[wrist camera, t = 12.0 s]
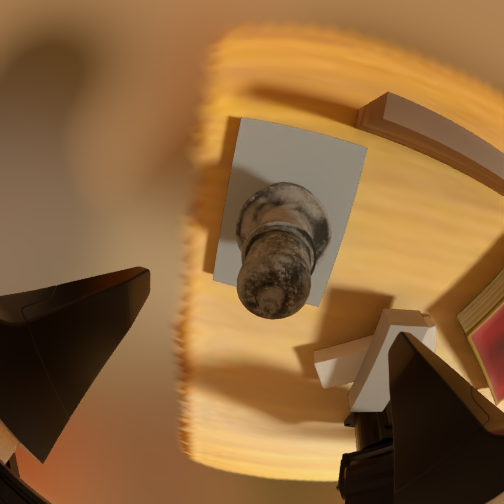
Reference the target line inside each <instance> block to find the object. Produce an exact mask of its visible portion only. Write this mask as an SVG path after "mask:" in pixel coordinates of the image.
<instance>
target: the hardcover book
mask: <svg viewBox="0 0 504 504" xmlns="http://www.w3.org/2000/svg"><path fill="white" fill-rule="evenodd" d="M456 317H457V318H458V320H459V322H460V324H461V326H462V328H463V330H464V331H465V336H466V338H467V340H468V342H469V344H470V346H471V348H472V350H473V352H474V354H475V356H476V358H477V361H478V363H479V365H480V367H481V369H482V372H483V374H484V376H485V379H486V381H487V383H488V386H489V388H490V391H491V393H492V396H493V399H494V401H495V404H496V406H497V405H498V404H499V403H500V402H501V401H503V400H504V268H503V269H502V270H501V272H500V273H499V274H498V275H497V276H496V277H495V278H494V279H493V280H492V281H491V282H490V283H489V284H488V286H487V287H486V288H485V289H484V290H483V291H482V292H481V293H480V294H479V295H478V296H477V297H476V298H475V299H474V300H472V301H471V302H470V303H469V304H468V305H467V306H466V307H465V308H464V309H463V310H462V311H461V312H460V313H458V314H457V315H456Z"/></svg>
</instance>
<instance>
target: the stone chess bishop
mask: <svg viewBox="0 0 504 504" xmlns="http://www.w3.org/2000/svg"><path fill="white" fill-rule="evenodd" d="M331 238H332V226H331V220H330V217H329V215H328V213H327V210H326V208H325V207H324V206H323V204H322V203H321V202H320V201H319V199H318V198H317V197H315V196H314V195H313V194H312V193H311V192H310V191H309V190H307V189H306V188H304V187H303V186H300V185H297V184H294V183H285V182H283V183H278V184H273V185H271V186H269V187H266V188H264V189H262V190H260V191H258V192H256V193H255V194H253V195H252V196H251V197H250V198H249V199H248V200H247V201H246V202H245V204H244V205H243V207H242V208H241V210H240V211H239V214H238V218H237V221H236V239H237V243H238V247H239V249H240V251H241V261H242V267H241V269H240V271H239V274H238V277H237V293H238V296H239V299H240V301H241V302H242V304H243V305H244V306H245V307H246V308H247V309H248V310H249V311H250V312H251V313H253V314H255V315H256V316H259V317H262V318H265V319H282V318H286V317H288V316H291V315H293V314H295V313H296V312H298V311H299V310H300V309H301V308H302V307H303V306H304V305H305V303H306V301H307V299H308V297H309V294H310V289H311V275H312V274H313V272H314V270H315V267H316V266H317V265H318V264H319V263H320V262H321V261H322V259H323V258H324V257H325V256H326V254H327V251H328V249H329V247H330V245H331Z"/></svg>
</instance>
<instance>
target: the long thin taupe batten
mask: <svg viewBox="0 0 504 504" xmlns="http://www.w3.org/2000/svg"><path fill="white" fill-rule="evenodd" d="M355 128H357V129H360V130H363V131H366V132H369V133H372V134H375V135H378V136H380V137H383V138H386V139H389V140H391V141H394V142H396V143H399V144H402V145H404V146H407V147H409V148H411V149H414V150H416V151H419V152H421V153H423V154H425V155H428V156H430V157H432V158H434V159H436V160H439V161H441V162H443V163H445V164H447V165H449V166H451V167H453V168H455V169H457V170H459V171H461V172H463V173H465V174H466V175H468V176H470V177H472V178H474V179H476V180H477V181H479V182H481V183H483V184H484V185H486V186H488V187H489V188H491V189H493V190H494V191H496V192H498V193H499V194H501V195H502V196H504V154H503V153H502V152H501V151H499V150H498V149H496V148H495V147H494V146H492V145H491V144H489V143H488V142H486V141H484V140H483V139H481V138H480V137H478V136H477V135H475V134H473V133H472V132H470V131H468V130H467V129H465V128H463V127H462V126H460V125H458V124H456V123H454V122H453V121H451V120H449V119H447V118H445V117H443V116H441V115H439V114H437V113H435V112H433V111H431V110H429V109H427V108H425V107H423V106H421V105H419V104H416V103H414V102H412V101H410V100H407V99H405V98H403V97H400V96H398V95H395V94H393V93H390V92H387V93H385V94H384V95H382V96H380V97H378V98H377V99H375V100H374V101H372V102H370V103H369V104H367V105H365V106H364V107H362V108H360V109H359V111H358V116H357V121H356V126H355Z"/></svg>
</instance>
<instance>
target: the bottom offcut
mask: <svg viewBox="0 0 504 504" xmlns="http://www.w3.org/2000/svg"><path fill="white" fill-rule="evenodd" d="M423 318H424V320H425V321H426V323H427V325H428V326H429V328H428V330H427V332H426V334H425V336H424V338H423V341H422V343H423V344H424V345H425V346H427V347H428V348H429V349H430V350H431V351H433V352H434V353H435V347H436V325H435V323H434V322H433V320H432V318H431V317H430V315H428V316H425V317H423ZM373 335H374V334H373ZM373 335H370V336H367V337H364V338H360V339H357V340H353V341H350V342H346V343H343V344H339V345H335V346H332V347H328V348H324V349H320V350H316V351H314V365H315V368H316V370H317V373H318V376H319V378H320V381H321V384H322V386H323V389H326V388H330V387H335V386H339V385H343V384H347V383H351V382H354V381H355V378H356V376H357V374H358V372H359V370H360V367H361V365H362V363H363V360H364V358H365V356H366V353H367V351H368V348H369V346H370V343H371V341H372V338H373Z"/></svg>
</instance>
